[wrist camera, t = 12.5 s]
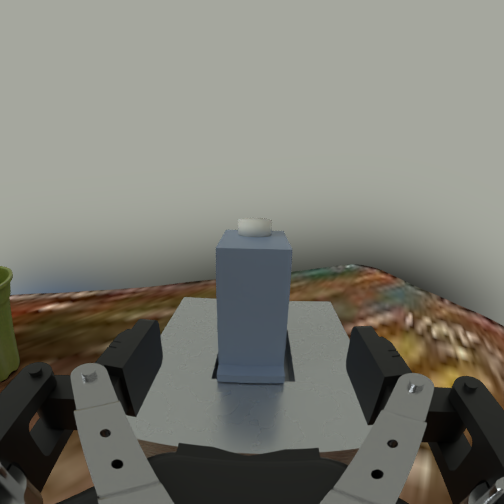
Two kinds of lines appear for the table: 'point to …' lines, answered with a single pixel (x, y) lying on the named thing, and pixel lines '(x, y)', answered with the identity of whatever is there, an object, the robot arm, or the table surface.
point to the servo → (252, 302)
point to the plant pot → (6, 328)
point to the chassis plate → (253, 390)
